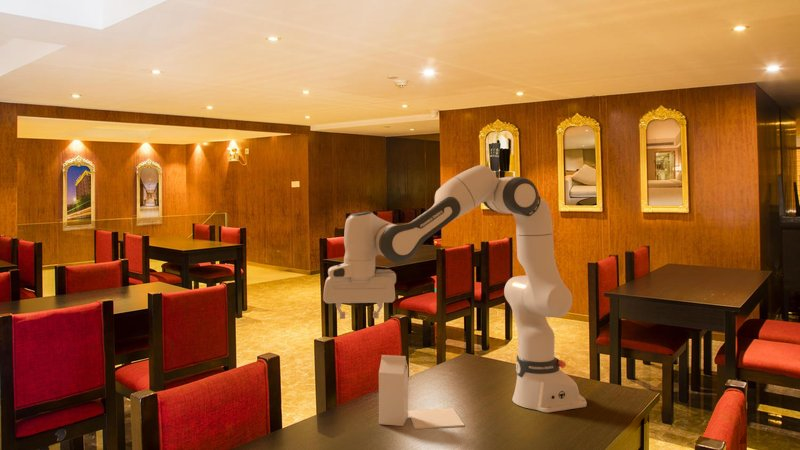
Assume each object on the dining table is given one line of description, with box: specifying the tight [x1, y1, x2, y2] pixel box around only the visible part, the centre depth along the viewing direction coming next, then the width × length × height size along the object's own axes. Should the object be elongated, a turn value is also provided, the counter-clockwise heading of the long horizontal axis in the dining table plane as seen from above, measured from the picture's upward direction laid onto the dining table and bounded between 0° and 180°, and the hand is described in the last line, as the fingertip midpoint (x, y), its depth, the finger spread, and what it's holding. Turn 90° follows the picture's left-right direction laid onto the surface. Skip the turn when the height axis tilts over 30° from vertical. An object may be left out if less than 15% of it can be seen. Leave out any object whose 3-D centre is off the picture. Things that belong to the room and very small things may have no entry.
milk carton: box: [378, 354, 409, 427], centre depth 167 cm, size 7×7×19 cm
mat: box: [408, 407, 465, 430], centre depth 169 cm, size 14×13×1 cm
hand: (359, 318), depth 164 cm, fingers open, 8 cm apart
